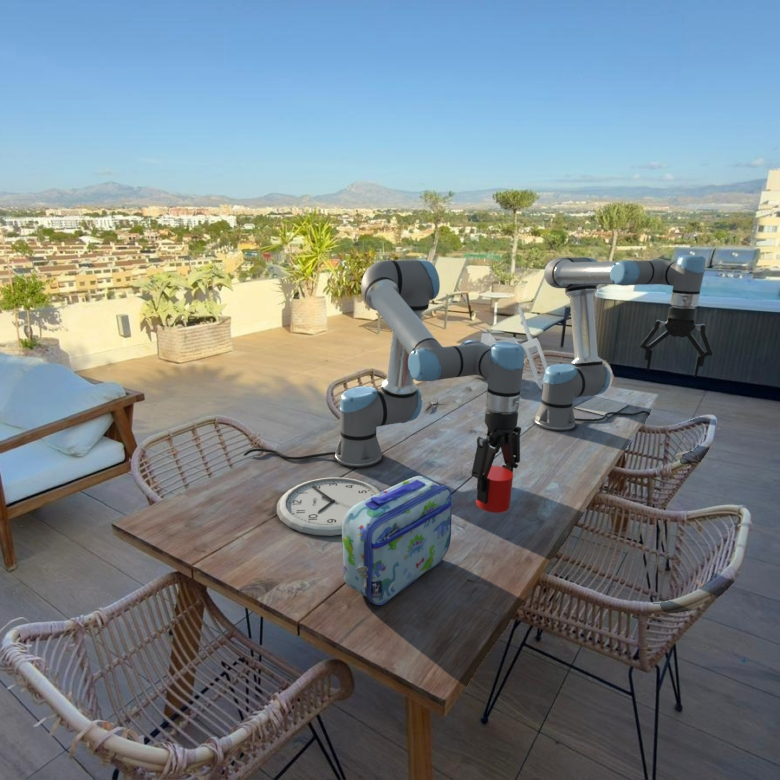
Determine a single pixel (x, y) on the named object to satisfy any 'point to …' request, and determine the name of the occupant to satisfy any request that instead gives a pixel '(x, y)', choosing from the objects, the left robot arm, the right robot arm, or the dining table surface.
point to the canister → (498, 490)
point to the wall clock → (322, 504)
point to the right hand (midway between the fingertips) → (671, 373)
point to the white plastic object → (528, 346)
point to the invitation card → (601, 406)
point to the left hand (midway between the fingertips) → (493, 495)
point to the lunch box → (395, 537)
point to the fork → (432, 403)
